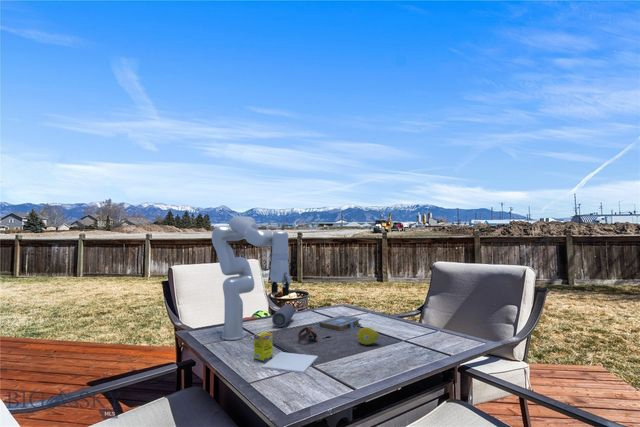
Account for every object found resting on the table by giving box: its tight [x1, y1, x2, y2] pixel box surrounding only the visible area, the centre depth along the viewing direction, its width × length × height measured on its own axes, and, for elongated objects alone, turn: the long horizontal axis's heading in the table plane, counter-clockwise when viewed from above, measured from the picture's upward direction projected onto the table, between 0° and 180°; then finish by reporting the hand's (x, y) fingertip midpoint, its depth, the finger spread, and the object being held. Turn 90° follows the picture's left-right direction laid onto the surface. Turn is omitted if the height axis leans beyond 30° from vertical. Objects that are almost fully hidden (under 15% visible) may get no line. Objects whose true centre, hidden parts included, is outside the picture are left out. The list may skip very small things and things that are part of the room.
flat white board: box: [261, 351, 319, 374], centre depth 147 cm, size 18×18×1 cm
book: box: [317, 314, 362, 334], centre depth 203 cm, size 21×16×5 cm
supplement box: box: [253, 331, 274, 363], centre depth 151 cm, size 6×6×11 cm
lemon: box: [356, 327, 380, 346], centre depth 170 cm, size 11×8×8 cm
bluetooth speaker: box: [271, 304, 295, 328], centre depth 209 cm, size 23×9×10 cm, turn 172°
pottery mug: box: [297, 326, 319, 344], centre depth 176 cm, size 12×10×8 cm
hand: (279, 294), depth 163 cm, fingers open, 9 cm apart
